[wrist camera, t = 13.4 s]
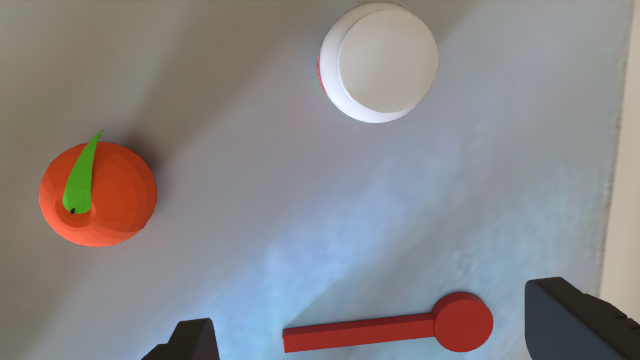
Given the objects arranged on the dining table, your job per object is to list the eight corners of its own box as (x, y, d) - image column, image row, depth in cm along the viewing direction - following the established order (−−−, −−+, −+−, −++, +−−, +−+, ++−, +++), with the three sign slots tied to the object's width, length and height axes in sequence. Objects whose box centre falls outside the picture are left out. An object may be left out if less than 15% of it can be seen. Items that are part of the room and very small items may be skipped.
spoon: (287, 362, 36) (287, 371, 35) (280, 311, 35) (279, 319, 33) (487, 340, 36) (493, 349, 35) (487, 288, 35) (493, 296, 33)
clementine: (82, 110, 30) (16, 120, 23) (180, 133, 31) (143, 149, 24) (70, 214, 32) (5, 253, 25) (162, 234, 33) (124, 276, 26)
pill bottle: (325, 11, 29) (337, -25, 18) (412, 30, 30) (472, 5, 19) (308, 101, 31) (309, 117, 20) (391, 118, 31) (435, 142, 20)
